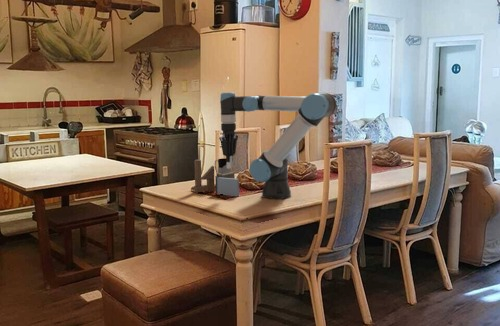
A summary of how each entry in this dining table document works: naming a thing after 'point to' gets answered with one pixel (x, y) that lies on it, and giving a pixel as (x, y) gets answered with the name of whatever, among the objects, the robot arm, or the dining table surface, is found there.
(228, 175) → the notched wooden plank
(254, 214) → the dining table surface
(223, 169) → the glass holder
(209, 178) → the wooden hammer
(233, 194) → the door
